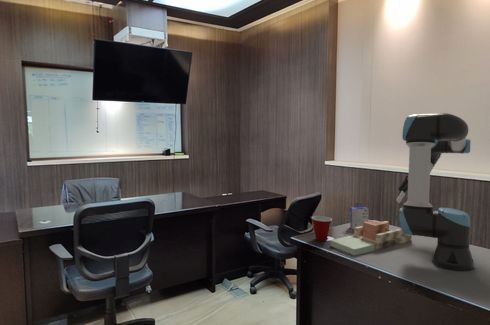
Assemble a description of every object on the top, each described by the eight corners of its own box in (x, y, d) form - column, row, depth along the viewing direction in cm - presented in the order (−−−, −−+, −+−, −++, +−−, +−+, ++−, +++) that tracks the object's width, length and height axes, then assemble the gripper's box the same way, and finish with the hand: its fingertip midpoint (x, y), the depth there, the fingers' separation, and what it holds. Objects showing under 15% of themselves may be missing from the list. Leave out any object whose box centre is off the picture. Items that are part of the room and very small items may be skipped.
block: (373, 233, 181) (373, 219, 180) (386, 237, 174) (386, 223, 173) (362, 236, 177) (362, 222, 177) (375, 240, 170) (375, 225, 170)
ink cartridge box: (366, 226, 205) (366, 202, 204) (369, 229, 200) (369, 204, 199) (349, 226, 206) (349, 203, 204) (352, 229, 200) (352, 205, 199)
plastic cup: (335, 241, 179) (335, 219, 178) (315, 243, 178) (315, 220, 176) (327, 235, 190) (327, 214, 189) (308, 237, 188) (308, 215, 187)
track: (385, 233, 191) (386, 220, 191) (411, 240, 177) (411, 227, 177) (349, 241, 179) (349, 228, 178) (374, 250, 165) (374, 236, 164)
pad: (349, 241, 179) (349, 235, 179) (374, 250, 165) (374, 244, 165) (330, 245, 173) (330, 240, 173) (354, 255, 159) (354, 249, 159)
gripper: (442, 176, 183) (421, 210, 177) (411, 172, 200) (391, 203, 194) (436, 166, 181) (415, 201, 174) (405, 164, 197) (385, 195, 191)
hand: (402, 202), depth 184 cm, fingers open, 6 cm apart
